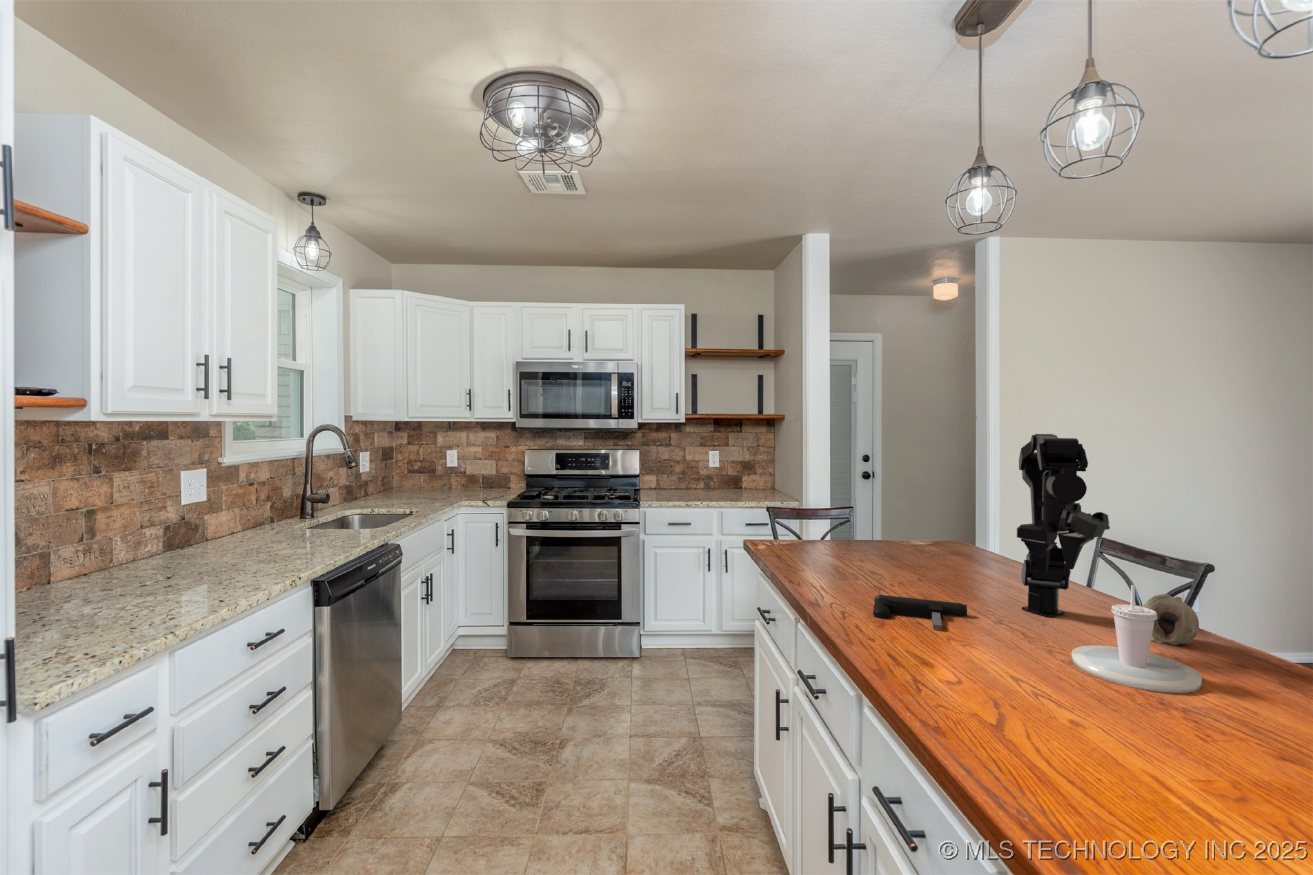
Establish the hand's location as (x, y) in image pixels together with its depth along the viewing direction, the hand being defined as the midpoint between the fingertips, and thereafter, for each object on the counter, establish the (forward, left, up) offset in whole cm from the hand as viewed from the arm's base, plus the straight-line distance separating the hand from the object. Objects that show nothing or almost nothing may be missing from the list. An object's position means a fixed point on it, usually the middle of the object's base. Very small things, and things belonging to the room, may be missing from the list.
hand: (1057, 571), depth 125 cm
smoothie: (+8, +18, -12) cm, 23 cm away
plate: (+8, +18, -13) cm, 24 cm away
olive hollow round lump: (-16, +13, -13) cm, 25 cm away
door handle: (+18, -19, -14) cm, 30 cm away
